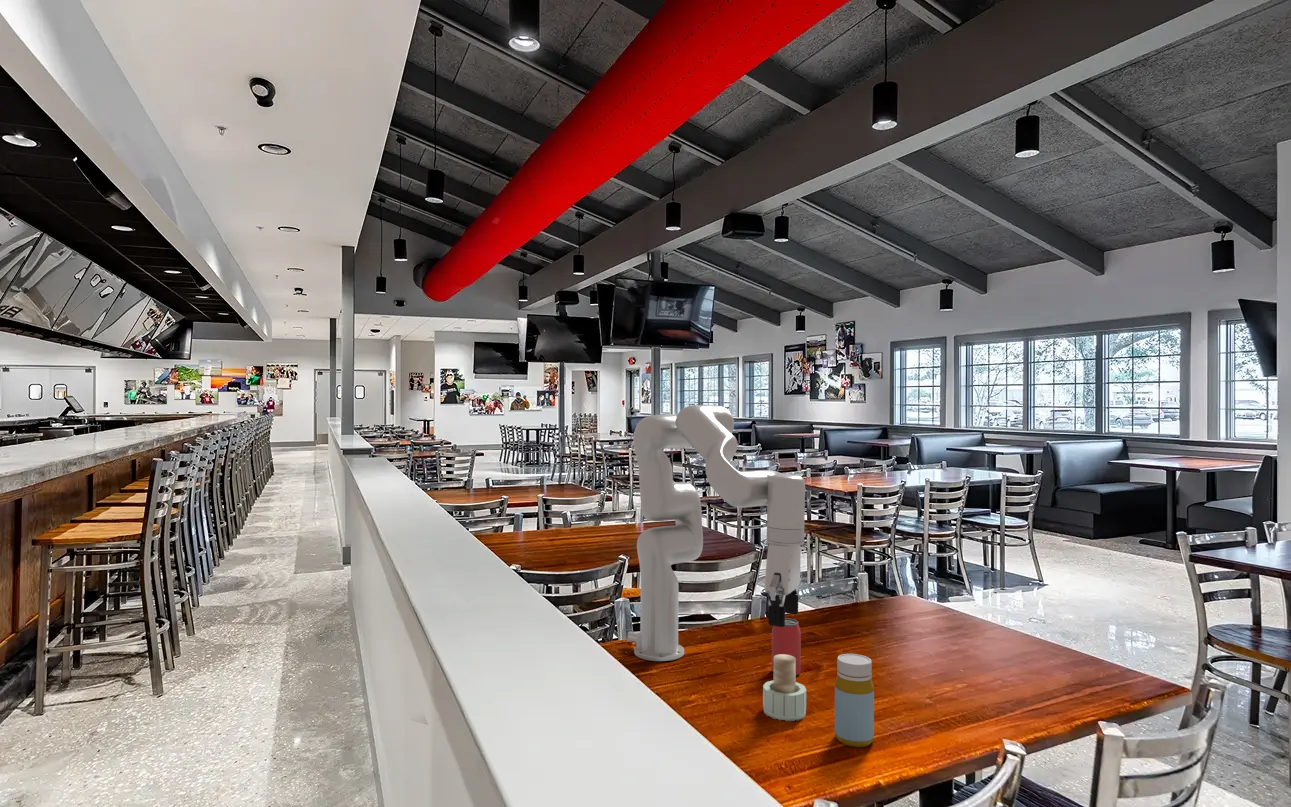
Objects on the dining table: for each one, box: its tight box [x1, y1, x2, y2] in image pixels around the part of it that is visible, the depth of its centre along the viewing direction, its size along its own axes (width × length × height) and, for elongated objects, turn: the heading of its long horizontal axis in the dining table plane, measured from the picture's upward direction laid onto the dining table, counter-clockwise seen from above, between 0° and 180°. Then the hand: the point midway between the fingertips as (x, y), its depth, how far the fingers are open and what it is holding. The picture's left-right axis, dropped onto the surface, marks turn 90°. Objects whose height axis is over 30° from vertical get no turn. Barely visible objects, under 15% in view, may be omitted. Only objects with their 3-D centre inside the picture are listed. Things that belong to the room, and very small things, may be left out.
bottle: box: [834, 653, 875, 748], centre depth 136 cm, size 7×7×15 cm
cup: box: [762, 680, 807, 722], centre depth 148 cm, size 8×8×5 cm
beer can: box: [771, 617, 802, 677], centre depth 170 cm, size 7×7×12 cm
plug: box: [772, 654, 797, 693], centre depth 148 cm, size 4×4×10 cm
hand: (783, 619), depth 149 cm, fingers open, 9 cm apart
